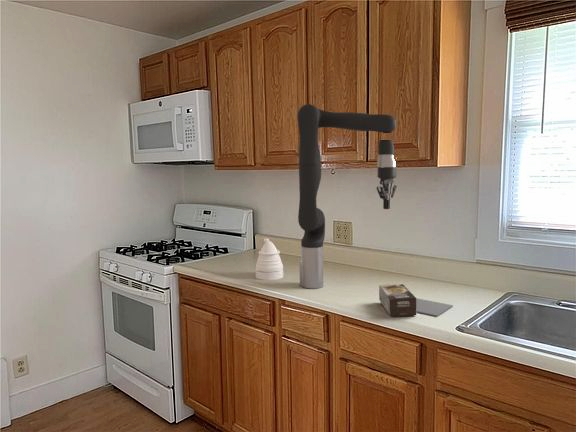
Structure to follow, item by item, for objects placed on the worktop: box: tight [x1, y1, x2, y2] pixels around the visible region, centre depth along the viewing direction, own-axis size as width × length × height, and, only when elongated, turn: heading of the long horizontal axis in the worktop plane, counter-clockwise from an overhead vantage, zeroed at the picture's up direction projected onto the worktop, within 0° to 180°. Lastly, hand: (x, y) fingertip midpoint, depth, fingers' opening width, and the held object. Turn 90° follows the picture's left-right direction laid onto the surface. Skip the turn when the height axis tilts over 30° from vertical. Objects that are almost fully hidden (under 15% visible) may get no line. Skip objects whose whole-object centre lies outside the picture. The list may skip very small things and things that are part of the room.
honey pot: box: [255, 237, 284, 281], centre depth 205 cm, size 13×13×18 cm
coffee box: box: [378, 283, 417, 318], centre depth 156 cm, size 9×6×16 cm
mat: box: [416, 297, 454, 318], centre depth 159 cm, size 16×14×1 cm
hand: (386, 208), depth 180 cm, fingers closed
